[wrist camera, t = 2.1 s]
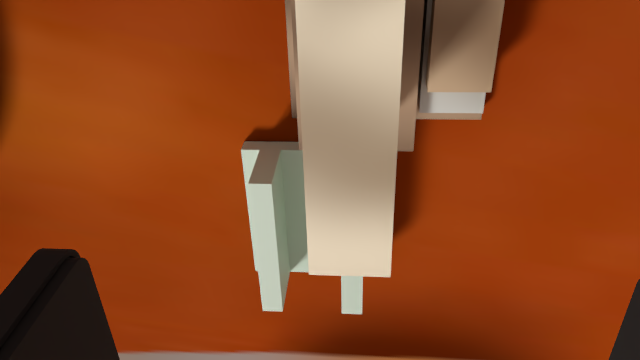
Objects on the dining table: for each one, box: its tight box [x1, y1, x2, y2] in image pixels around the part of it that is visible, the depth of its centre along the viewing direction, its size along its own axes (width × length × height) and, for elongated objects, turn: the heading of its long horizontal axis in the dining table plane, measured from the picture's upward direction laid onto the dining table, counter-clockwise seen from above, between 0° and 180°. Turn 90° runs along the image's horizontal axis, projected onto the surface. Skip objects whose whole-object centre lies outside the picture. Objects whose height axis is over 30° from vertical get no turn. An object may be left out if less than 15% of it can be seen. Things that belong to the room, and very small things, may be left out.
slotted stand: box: [241, 141, 363, 314], centre depth 32 cm, size 9×8×4 cm
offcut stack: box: [417, 0, 505, 113], centre depth 25 cm, size 9×3×3 cm, turn 2°
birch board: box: [295, 0, 405, 277], centre depth 20 cm, size 9×2×14 cm, turn 2°
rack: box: [285, 0, 482, 151], centre depth 25 cm, size 12×10×4 cm
